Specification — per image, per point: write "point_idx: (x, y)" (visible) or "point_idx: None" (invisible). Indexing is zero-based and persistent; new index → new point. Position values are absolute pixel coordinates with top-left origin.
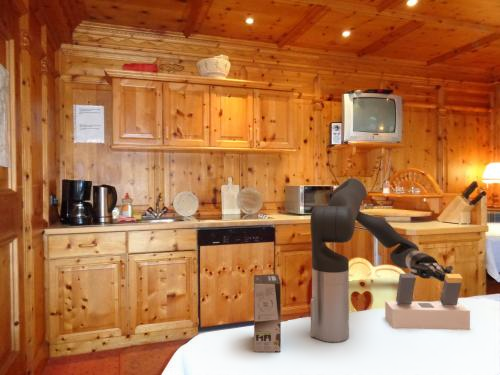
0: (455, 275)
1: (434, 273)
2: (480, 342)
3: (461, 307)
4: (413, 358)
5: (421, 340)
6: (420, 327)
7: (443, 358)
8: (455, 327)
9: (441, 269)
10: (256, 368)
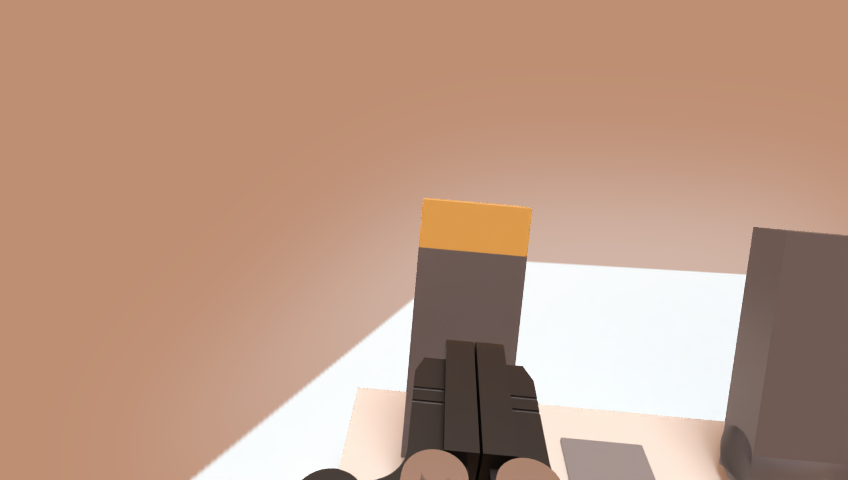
0: (462, 201)
1: (545, 464)
2: (401, 360)
3: (371, 436)
4: (660, 302)
5: (629, 385)
6: None
7: (575, 297)
8: None
9: (423, 473)
10: None
